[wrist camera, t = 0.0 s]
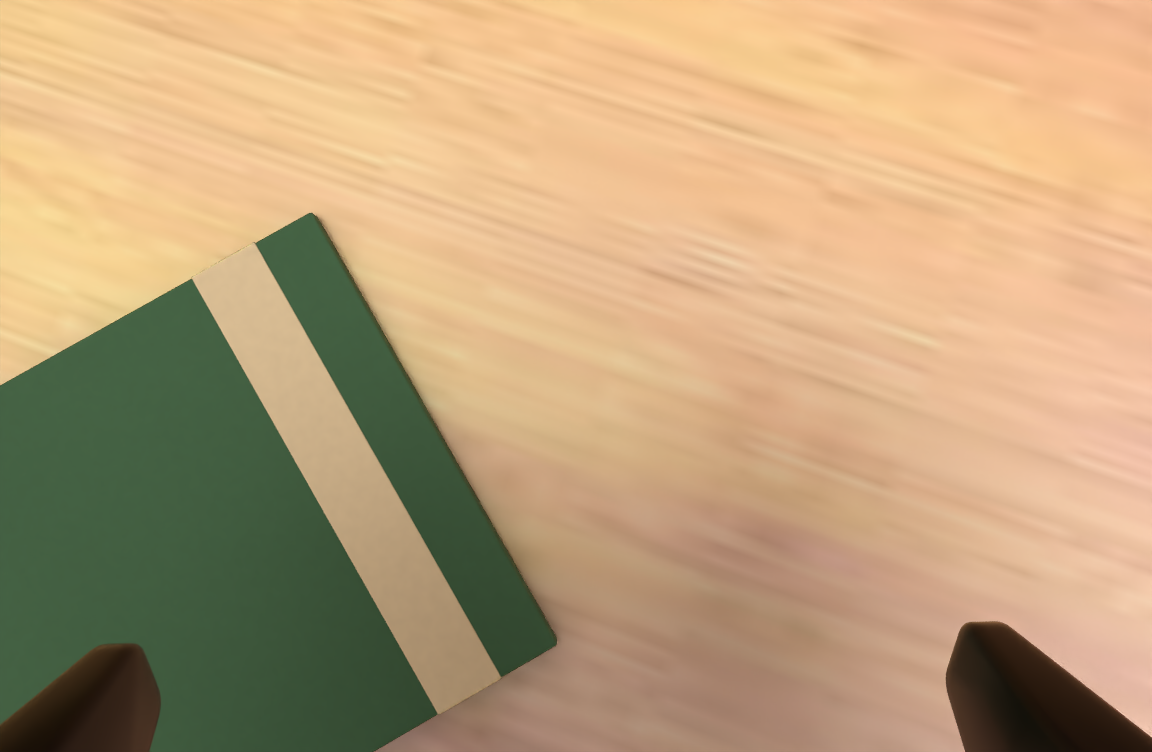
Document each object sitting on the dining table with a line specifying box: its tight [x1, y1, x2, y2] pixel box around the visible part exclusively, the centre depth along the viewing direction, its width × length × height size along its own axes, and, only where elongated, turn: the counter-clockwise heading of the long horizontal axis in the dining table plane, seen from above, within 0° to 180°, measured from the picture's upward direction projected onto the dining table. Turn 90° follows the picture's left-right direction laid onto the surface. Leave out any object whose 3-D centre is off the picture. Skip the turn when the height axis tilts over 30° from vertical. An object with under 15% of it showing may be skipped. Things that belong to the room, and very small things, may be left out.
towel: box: [0, 213, 557, 752], centre depth 24 cm, size 14×20×1 cm
